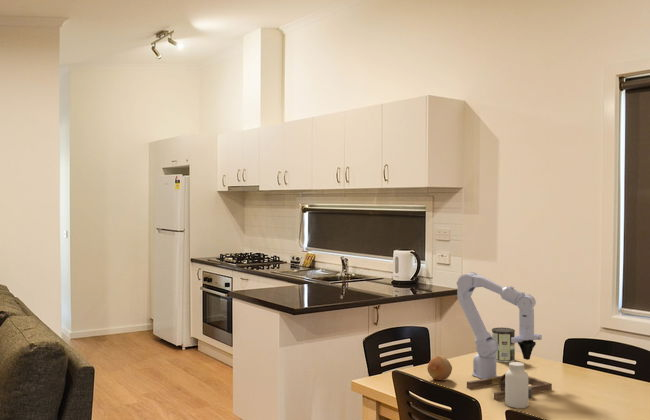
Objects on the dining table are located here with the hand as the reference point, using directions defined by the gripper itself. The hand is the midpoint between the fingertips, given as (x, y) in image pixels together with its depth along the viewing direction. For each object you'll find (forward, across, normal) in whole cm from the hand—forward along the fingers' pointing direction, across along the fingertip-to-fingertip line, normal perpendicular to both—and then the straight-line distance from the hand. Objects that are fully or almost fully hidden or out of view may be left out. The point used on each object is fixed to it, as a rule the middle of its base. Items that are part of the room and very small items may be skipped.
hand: (526, 359), depth 246 cm
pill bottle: (+10, -22, -18) cm, 31 cm away
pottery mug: (+10, -11, -4) cm, 15 cm away
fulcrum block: (+10, -12, -12) cm, 20 cm away
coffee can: (+10, +18, +33) cm, 39 cm away
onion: (+10, -28, +20) cm, 36 cm away
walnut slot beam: (+10, -12, -2) cm, 16 cm away
